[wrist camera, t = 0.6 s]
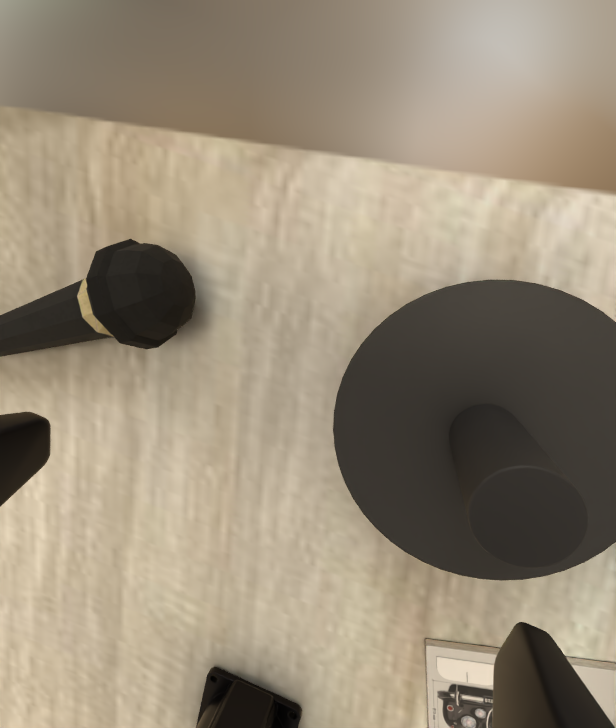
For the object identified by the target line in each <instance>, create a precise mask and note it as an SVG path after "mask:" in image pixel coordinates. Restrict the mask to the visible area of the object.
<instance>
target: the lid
mask: <svg viewBox="0 0 616 728" xmlns="http://www.w3.org/2000/svg"><path fill="white" fill-rule="evenodd" d="M333 433H334V444H335V451H336V455H337V460H338V464H339V467H340V470H341V473H342V476H343V478H344V481H345V483H346V485H347V487H348V489H349V491H350V493H351V495H352V497H353V499H354V500H355V502H356V503H357V505H358V506H359V508H360V509H361V511H362V512H363V514H364V515H365V516H366V517H367V518H368V519H369V521H370V522H371V523H372V524H373V525H374V526H375V527H376V528H377V529H378V530H379V531H380V532H381V533H382V534H383V535H384V536H385V537H386V538H388V539H389V540H390V541H391V542H392V543H394V544H395V545H397V546H398V547H399V548H401V549H402V550H404V551H405V552H407V553H408V554H410V555H412V556H414V557H415V558H417V559H419V560H421V561H423V562H425V563H427V564H430V565H432V566H434V567H437V568H439V569H442V570H445V571H448V572H452V573H455V574H458V575H462V576H468V577H473V578H479V579H489V580H523V579H529V578H536V577H542V576H546V575H550V574H553V573H557V572H561V571H564V570H567V569H569V568H571V567H574V566H576V565H579V564H581V563H583V562H585V561H587V560H589V559H591V558H592V557H594V556H596V555H598V554H599V553H601V552H603V551H604V550H605V549H607V548H608V547H609V546H611V545H612V544H613V543H615V542H616V322H615V321H613V320H612V319H611V318H610V317H608V316H607V315H606V314H605V313H603V312H602V311H600V310H599V309H597V308H595V307H594V306H592V305H590V304H589V303H587V302H585V301H584V300H582V299H580V298H577V297H575V296H573V295H570V294H568V293H565V292H563V291H561V290H558V289H554V288H551V287H547V286H543V285H540V284H536V283H529V282H522V281H515V280H483V281H473V282H466V283H462V284H457V285H453V286H448V287H445V288H442V289H439V290H436V291H434V292H431V293H428V294H425V295H423V296H422V297H420V298H418V299H416V300H414V301H412V302H410V303H408V304H406V305H405V306H403V307H402V308H400V309H399V310H397V311H396V312H394V313H393V314H391V315H390V316H389V317H388V318H386V319H385V320H384V321H383V322H382V323H381V324H380V325H379V326H377V327H376V328H375V329H374V330H373V331H372V333H371V334H370V335H369V336H368V337H367V338H366V339H365V341H364V342H363V343H362V344H361V346H360V347H359V349H358V350H357V352H356V353H355V355H354V356H353V358H352V359H351V361H350V363H349V365H348V367H347V369H346V372H345V374H344V376H343V378H342V381H341V384H340V387H339V391H338V394H337V399H336V404H335V410H334V425H333Z"/></svg>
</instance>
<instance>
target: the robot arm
mask: <svg viewBox="0 0 616 728" xmlns="http://www.w3.org/2000/svg"><path fill="white" fill-rule="evenodd" d="M49 456H50V423H49V421H48V420H47V419H46V418H44V417H42V416H39V415H37V414H35V413H31V412H21V413H13V414H5V415H0V506H1V505H2V504H4V503H5V502H6V501H7V500H8V499H9V498H10V497H11V496H12V495H13V494H14V493H15V492H16V491H17V490H18V489H20V488H21V487H22V486H23V485H24V484H25V483H26V482H27V481H28V480H29V479H30V478H31V477H32V476H33V475H34V474H36V473H37V472H38V471H39V470H40V469H41V468H42V467H43V466H44V465H45V463H46V462H47V460H48V459H49ZM293 712H294V713H293ZM301 714H302V709H301V707H300V706H299V705H298V704H296V703H294V702H292V701H290V700H288V699H285V698H283V697H281V696H279V695H277V694H274V693H272V692H270V691H268V690H266V689H263V688H261V687H259V686H257V685H255V684H252V683H250V682H248V681H246V680H244V679H242V678H239V677H237V676H235V675H233V674H231V673H228V672H226V671H224V670H222V669H220V668H217V667H213V668H211V670H210V672H209V673H208V675H207V679H206V684H205V688H204V693H203V698H202V702H201V707H200V712H199V716H198V721H197V726H196V728H298V725H299V721H300V718H301ZM492 728H615V727H614V725H613V724H612V722H611V721H610V720H609V718H608V717H607V715H606V714H605V712H604V711H603V710H602V708H601V707H600V705H599V704H598V702H597V701H596V700H595V698H594V697H593V695H592V694H591V693H590V691H589V690H588V688H587V687H586V685H585V684H584V683H583V681H582V680H581V678H580V677H579V675H578V674H577V673H576V671H575V670H574V668H573V667H572V665H571V664H570V663H569V661H568V660H567V658H566V657H565V656H564V654H563V653H562V651H561V650H560V648H559V647H558V646H557V644H556V643H555V641H554V640H553V638H552V637H551V636H550V635H549V634H548V633H547V632H545V631H543V630H541V629H539V628H536V627H534V626H532V625H529V624H527V623H524V622H519V623H517V624H516V625H515V626H514V628H513V629H512V631H511V633H510V634H509V636H508V637H507V639H506V641H505V642H504V644H503V645H502V647H501V649H500V650H499V652H498V654H497V656H496V659H495V663H494V673H493V717H492Z"/></svg>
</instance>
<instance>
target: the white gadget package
mask: <svg viewBox="0 0 616 728" xmlns="http://www.w3.org/2000/svg"><path fill="white" fill-rule="evenodd" d="M425 640H426V669H427V698H428V727H429V728H492V717H493V673H494V663H495V659H496V656H497V654H498V652H499V650H500V649H501V648H493V647H486V646H478V645H470V644H462V643H455V642H447V641H439V640H432V639H425ZM566 658H567V660H568V661H569V663H570V664H571V665H572V667H573V668H574V670H575V671H576V673H577V674H578V675H579V677H580V678H581V680H582V681H583V683H584V684H585V685H586V687H587V688H588V690H589V691H590V693H591V694H592V695H593V697H594V698H595V700H596V701H597V702H598V704H599V705H600V707H601V708H602V710H603V711H604V712H605V714H606V715H607V717H608V718H609V720H610V721H611V722H612V724H613V725H614V727H615V728H616V663H609V662H601V661H594V660H586V659H578V658H570V657H566Z"/></svg>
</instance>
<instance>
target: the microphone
mask: <svg viewBox="0 0 616 728" xmlns="http://www.w3.org/2000/svg"><path fill="white" fill-rule="evenodd" d="M194 303H195V289H194V285H193V280H192V276H191V275H190V273H189V272H188V271H187V269H186V268H185V266H184V265H183V263H182V262H181V261H180V259H179V258H178V257H177V256H176V255H175V254H173V253H171V252H170V251H168V250H166V249H164V248H162V247H160V246H158V245H153V244H146V243H144V244H140V243H138V242H136V241H134V240H132V239H129V240H126V241H123V242H120V243H117V244H113V245H110V246H107V247H105V248H103V249H101V250H99V251H96V253H95V256H94V259H93V262H92V264H91V267H90V270H89V273H88V275H87V278H86V279H83V280H81V281H79V282H76V283H74V284H72V285H70V286H67V287H65V288H63V289H60V290H58V291H56V292H53V293H51V294H49V295H46V296H44V297H42V298H40V299H37V300H35V301H33V302H30V303H28V304H26V305H23V306H21V307H19V308H16V309H14V310H12V311H10V312H7V313H5V314H3V315H0V356H6V355H11V354H17V353H22V352H28V351H34V350H39V349H45V348H51V347H56V346H62V345H68V344H73V343H79V342H85V341H90V340H96V339H102V338H107V337H113V336H114V337H115V338H116V339H117V340H118V342H119V343H122V344H126V345H130V346H135V347H139V348H144V349H151V348H157V347H159V346H161V345H162V344H163V343H165V342H166V341H167V340H169V339H170V338H172V337H173V336H174V335H176V333H177V329H179V328H180V327H181V326H183V325H184V324H185V323H186V322H187V321H189V320H190V319H191V317H192V312H193V307H194Z"/></svg>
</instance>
